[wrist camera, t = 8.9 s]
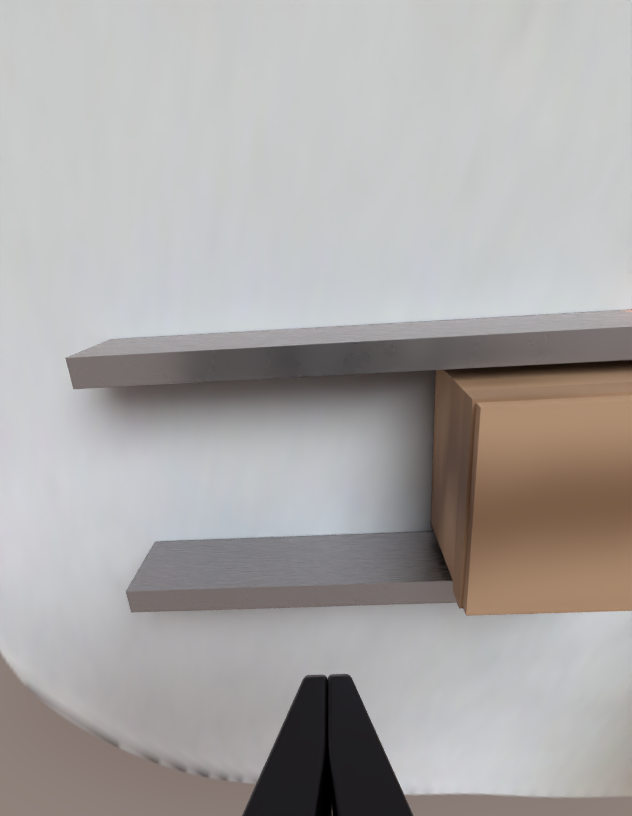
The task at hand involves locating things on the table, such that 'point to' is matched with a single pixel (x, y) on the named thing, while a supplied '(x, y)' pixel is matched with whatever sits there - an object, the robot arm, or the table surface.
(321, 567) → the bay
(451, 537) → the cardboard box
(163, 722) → the table surface
